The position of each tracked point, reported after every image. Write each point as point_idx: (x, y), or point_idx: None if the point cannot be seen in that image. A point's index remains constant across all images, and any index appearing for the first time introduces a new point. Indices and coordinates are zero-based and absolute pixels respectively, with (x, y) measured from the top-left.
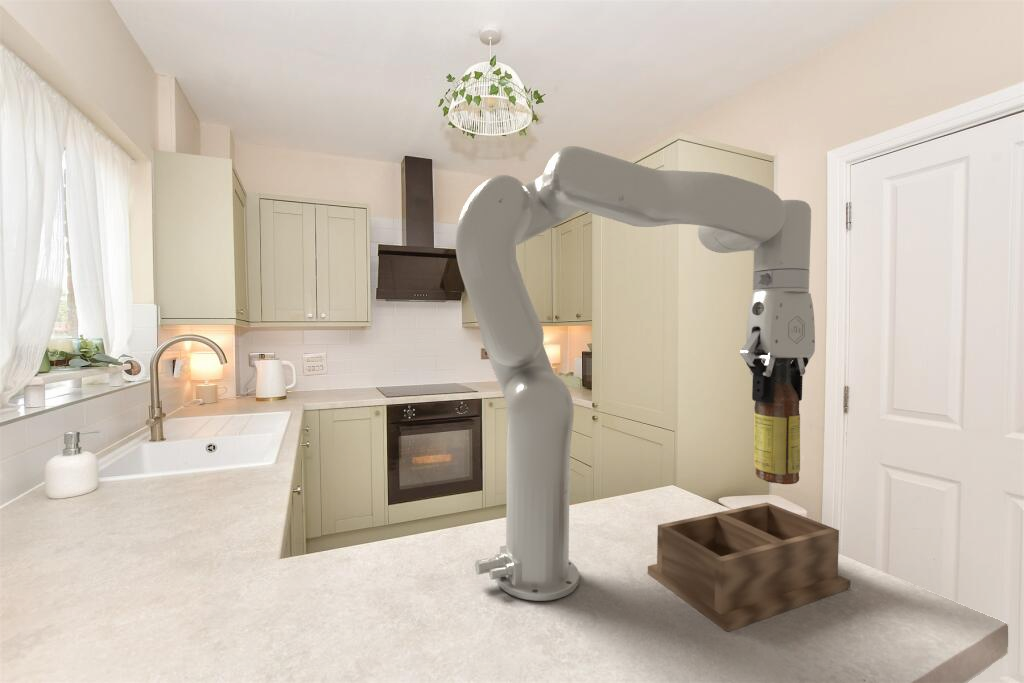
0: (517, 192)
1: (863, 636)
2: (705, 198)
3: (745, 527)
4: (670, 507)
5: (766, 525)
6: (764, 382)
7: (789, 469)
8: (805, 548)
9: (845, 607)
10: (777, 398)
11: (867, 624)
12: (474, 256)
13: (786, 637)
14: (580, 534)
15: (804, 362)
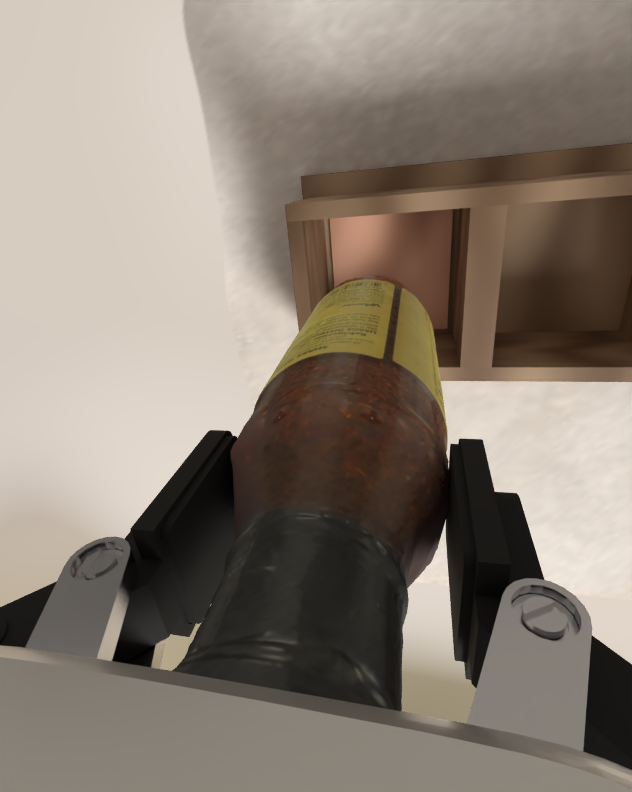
0: None
1: (441, 35)
2: None
3: (486, 295)
4: None
5: None
6: (527, 558)
7: (389, 286)
8: (410, 192)
9: (376, 127)
10: (422, 446)
11: (393, 66)
12: None
13: (587, 83)
14: (615, 510)
15: (4, 634)
